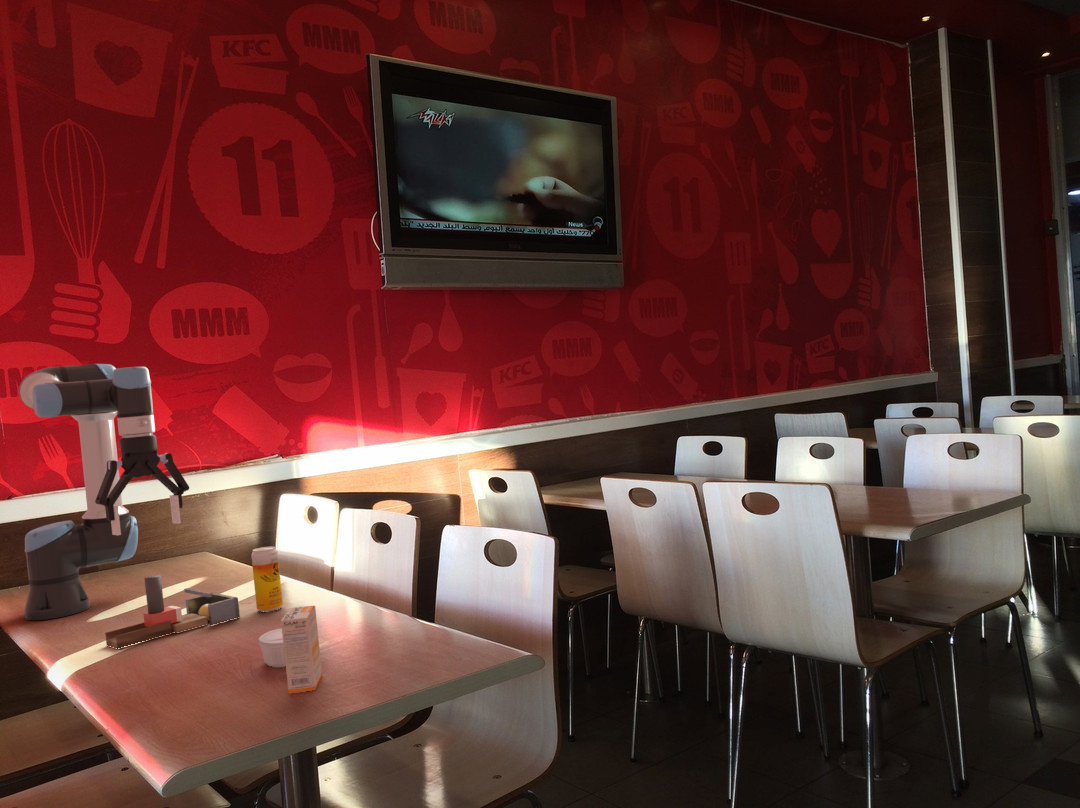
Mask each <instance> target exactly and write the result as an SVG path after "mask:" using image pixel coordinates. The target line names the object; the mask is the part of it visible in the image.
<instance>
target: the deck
mask: <svg viewBox="0 0 1080 808" xmlns="http://www.w3.org/2000/svg"><path fill="white" fill-rule="evenodd" d="M208 622H209V621H207V617H205V616H201V615H197V614H193V613H189V614H187V613H185V614H182V621H179V622H175V623H171V628H172V632H175V633H177V632H181V631H184V630H188V629H192V628H195V627H199V626H202V625H206V624H208ZM208 625H209V624H208Z"/></svg>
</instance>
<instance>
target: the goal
mask: <svg viewBox="0 0 1080 808" xmlns="http://www.w3.org/2000/svg"><path fill="white" fill-rule="evenodd" d="M183 590H184V593H187V594H190V595H191V594H192V595H197V596H194V597H190V598H186V599H185V606H186V607H185V609H186V614H189V613H193V614H197V615H199V614H198V612H199V609H200V608H201V607H202V606H203V605H205V604H208V612H209V621H208V622H209V626H210V625H213V624H217V623H220V622H224V621H227V620H230V619H234V618H238V617H240V618H241V615H240V605H239V598H238V597H237V596H232V595H226V594H222V593H217V592H208V591H203V590H199V589H193V588H189V587H186V588H184V589H183Z"/></svg>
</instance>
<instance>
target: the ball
mask: <svg viewBox="0 0 1080 808" xmlns="http://www.w3.org/2000/svg"><path fill="white" fill-rule="evenodd" d="M198 614H199V615H201V616H205V617H207V622H209V621H208V620H209V612H208V604H205V605H203V606H202V607H201V608H200V609H199V612H198Z"/></svg>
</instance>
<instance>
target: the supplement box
mask: <svg viewBox="0 0 1080 808" xmlns="http://www.w3.org/2000/svg"><path fill="white" fill-rule="evenodd" d="M316 610H317V609H316V605H307V606H298V607H297V606H296V607H291V608H289V609H288V611H287V612H286V613H285V614H284V616H283V617H282V618H281V620H280V624H281V626H280V627H281V628H282V635H283V644H284V654H285V663H286V667H285V671H286V673H285V674H286V680H287V690H288V694H290V695H292V693H293V694H298V693H300V692H301V693H307V692H306V691H310V692H315V691H316V689H317V687H318V685H319V684H320V681H321V678H322V675H323V671H322V660H321V649H320V641H319V632H318V631H319V630H318V621H317V619H318V618H317V612H316ZM312 690H313V691H312ZM314 690H315V691H314ZM301 693H300V694H301Z"/></svg>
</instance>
